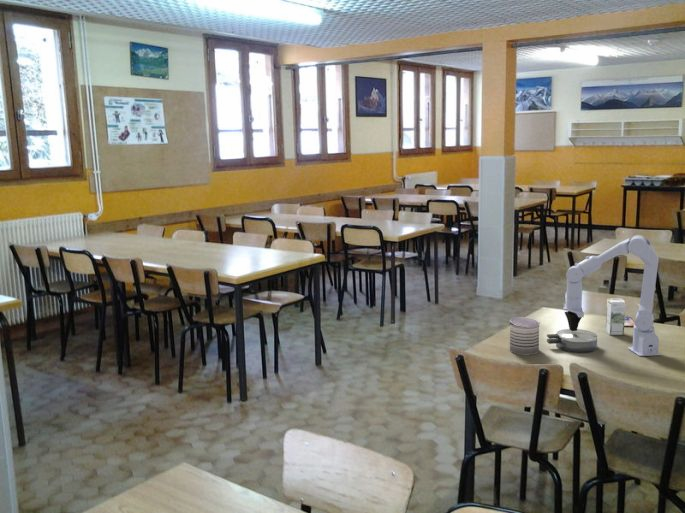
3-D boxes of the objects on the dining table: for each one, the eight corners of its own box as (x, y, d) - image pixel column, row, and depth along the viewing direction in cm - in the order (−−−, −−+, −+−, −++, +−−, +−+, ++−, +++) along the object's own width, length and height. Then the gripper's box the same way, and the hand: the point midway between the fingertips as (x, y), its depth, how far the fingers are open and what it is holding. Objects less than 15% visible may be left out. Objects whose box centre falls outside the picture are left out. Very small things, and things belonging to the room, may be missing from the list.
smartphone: (620, 325, 278) (613, 316, 293) (620, 328, 278) (613, 318, 293) (638, 326, 277) (630, 316, 291) (638, 328, 277) (630, 318, 291)
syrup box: (619, 331, 272) (621, 297, 270) (624, 335, 266) (625, 301, 264) (605, 331, 273) (606, 298, 270) (609, 335, 267) (611, 301, 264)
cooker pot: (603, 352, 248) (603, 341, 247) (554, 354, 247) (555, 344, 246) (586, 340, 263) (587, 330, 262) (541, 342, 262) (541, 332, 261)
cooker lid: (603, 341, 247) (604, 339, 247) (555, 344, 246) (555, 341, 246) (587, 329, 262) (587, 327, 262) (541, 332, 261) (541, 329, 261)
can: (527, 344, 260) (527, 315, 258) (545, 352, 250) (546, 322, 248) (503, 348, 256) (503, 319, 254) (520, 357, 246) (521, 326, 244)
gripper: (557, 292, 262) (556, 325, 264) (571, 301, 248) (570, 336, 250) (574, 292, 262) (573, 324, 265) (589, 300, 248) (588, 335, 250)
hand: (573, 330), depth 257 cm, fingers closed
